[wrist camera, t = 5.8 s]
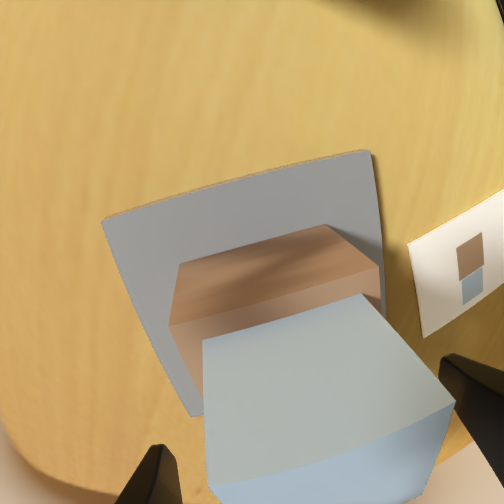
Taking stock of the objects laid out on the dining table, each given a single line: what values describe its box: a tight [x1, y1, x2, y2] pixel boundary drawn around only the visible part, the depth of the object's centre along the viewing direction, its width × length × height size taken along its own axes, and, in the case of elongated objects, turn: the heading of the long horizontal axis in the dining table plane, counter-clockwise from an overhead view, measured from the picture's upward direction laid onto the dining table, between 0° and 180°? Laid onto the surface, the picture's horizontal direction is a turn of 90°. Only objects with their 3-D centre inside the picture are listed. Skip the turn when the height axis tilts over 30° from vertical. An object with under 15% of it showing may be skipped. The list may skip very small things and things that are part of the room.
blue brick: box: [202, 293, 456, 504], centre depth 8 cm, size 5×5×5 cm
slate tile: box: [101, 150, 386, 417], centre depth 15 cm, size 12×12×1 cm
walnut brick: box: [168, 224, 381, 402], centre depth 13 cm, size 6×6×5 cm
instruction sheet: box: [407, 189, 504, 338], centre depth 17 cm, size 9×7×1 cm
